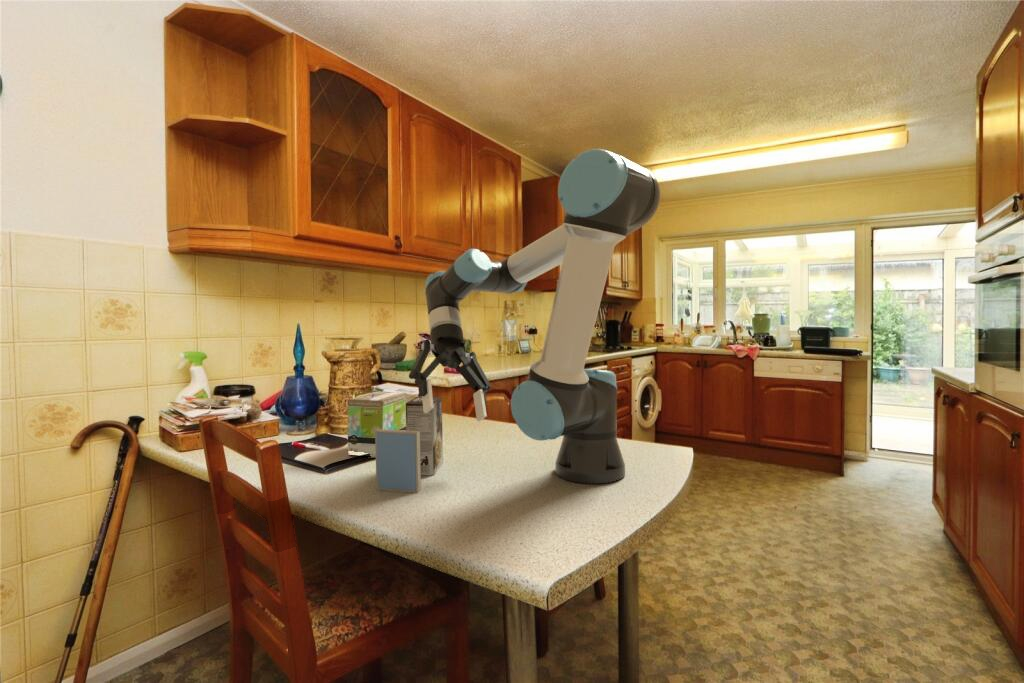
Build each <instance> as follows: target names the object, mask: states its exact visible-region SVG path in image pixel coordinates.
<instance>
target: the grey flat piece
mask: <svg viewBox="0 0 1024 683" xmlns="http://www.w3.org/2000/svg"><path fill="white" fill-rule="evenodd" d="M375 448H376V457H375V486H376V487H375V488H376V491H387V492H388V491H389V492H403V493H416V494H417V493H418V494H419V492H421V490H422V486H421V484H422V482H421V480H422V477H421V476H422V475H421V469H420V431H410V430H385V429H378V430H376V431H375Z"/></svg>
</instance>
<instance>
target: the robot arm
mask: <svg viewBox="0 0 1024 683" xmlns="http://www.w3.org/2000/svg"><path fill="white" fill-rule="evenodd" d="M658 182H659V181H658V180H657V178H656V177H655V175H654V174H653V173H652V172H651V171H650V170H649V169H647V168H646V167H645V166H643V165H640V164H637V163H635V162H633V161H631V160H629V159H627V158H625V157H624V156H622V155H621V154H620V153H617V152H614V151H609V150H606V149H603V148H592V149H588V150H585V151H582V152H581V153H579V154H578V155H577V156H576V157H575V158H573V159H572V160H571V161H570V162H569V163H568V164H567V166H565V168H564V170H563V172H562V173H561V176H560V179H559V181H558V187H557V189H558V190H557V195H558V196H557V197H558V199H559V201H560V205H561V207H562V208H563V210H564V211H565V212H564V213H565V214H564V218H563V223H562V224H561V225H559V226H558V227H556V228H555V229H553V230H552V231H550V232H548V233H546V234H545V235H543V236H541V237H540V238H538V239H537V240H534V241H533V242H531V243H529V244H528V245H526V246H525V247H523V248H522V249H520V250H518V251H517V252H515V253H513V254H511V255H510V256H508V257H506V258H504V259H503V260H501V261H498V260H497V261H496V260H491V259H490V258H489V256H488V255H486V253H485V252H483V251H481V250H480V249H478V248H469V249H467V250H465V252H463V254H461V255H459V257H457V258H456V259H455V261H454V262H453V263H452V264H451V265H450V266H449V267H448V268H447V270H439V271H438V270H437V271H436V272H434V273H430V274H428V276H427V278H426V280H425V292H424V294H425V298H426V307H427V315H428V326H429V331H430V332H429V337H430V340H429V339H425V340H424V341H423V342H422V343H421V344H420V345H419V353H418V355H417V357H416V359H415V362H414V363H413V365H412V367H411V370H410V372H409V373H408V378H409V379H410V380H414V384H415V385H417V388H418V395H419V397H422V401H423V413H428V412H429V411H430V410H432V409H433V408H434V405H433V397H434V396H433V387H432V386H433V385H432V379H431V378H429V376H430V375H431V374H432V373H433V371H435V369H436V368H437V367H438V366H439V365H441V367H444V368H445V367H448V368H450V369H454V370H455V371H456V373H459V374H460V375H461V376H462V377H463V379H464V380H465V381H466V382H467V384H468V385H469V386H470V387H471V389H472V390H473V392H474V393H473V394H472V397H473V403H474V410H475V418H476V421H477V422H480V421H482V420H484V419H485V418H488V415H487V409H486V405H487V397H486V393H488V391H490V390H491V389H492V385H491V383H490V381H489V379H488V377H487V376H486V374H485V372H484V370H483V368H482V366H481V364H480V363H479V361H478V358H477V355H476V354H477V353H476V352H475V351H471V352H466V351H465V350H464V345H465V343H464V342H465V341H464V340H465V339H464V333H463V332H464V331H463V325H462V324H463V323H462V318H461V311H460V302H462V301H463V300H464V299H465V298H466V297H467V296H468V295H469V294H470V293H472V292H485V293H486V292H487V293H488V292H489V293H502V294H507V295H508V294H509V295H511V294H517V293H520V292H522V291H523V290H524V289H525V287H526V286H527V284H528V282H530V281H532V280H533V279H535V278H538V277H539V276H541V275H543V274H545V273H547V272H548V271H550V270H552V269H555V268H556V267H558V266H560V265H561V268H560V272H559V276H558V279H557V280H558V281H557V284H556V285H557V286H556V290H555V294H554V299H553V303H552V307H551V312H550V316H549V320H548V324H547V328H546V333H545V336H544V337H545V338H544V342H543V347H542V350H541V355H540V357H539V359H537V360H536V361H534V362H532V363H531V364H530V367H529V372H528V375H527V380H524V381H521V383H520V384H519V385H517V386H516V387H515V388H514V390H513V392H512V395H511V398H510V399H511V400H510V409H511V413H512V417H513V419H514V420H515V422H516V426H517V427H518V428H519V429H520V431H521V432H522V433H523V435H525V436H526V437H529V438H530V439H531V440H535V441H541V442H542V441H543V442H544V441H550V440H552V441H553V440H556V439H558V438H560V437H562V439H561V443H560V447H559V451H558V452H557V453H558V454H557V456H556V459H555V474H556V475H557V477H559V478H561V479H562V480H563V479H564V480H566V481H570V482H574V483H580V484H595V485H596V484H598V485H599V484H608V482H609V483H614V482H617V481H616V480H618V481H620V480H621V478H622V479H623V478H624V477H625V475H626V464H625V461H624V458H623V455H622V451H621V448H620V446H619V442H618V436H617V435H618V434H617V433H618V432H617V431H618V427H617V424H618V422H617V421H618V404H617V403H618V385H617V376H616V374H615V372H613V371H612V370H604V369H603V370H602V369H592V368H591V369H589V368H585V366H586V364H585V363H586V361H587V357H588V352H589V349H590V344H591V342H592V337H593V333H594V329H595V325H596V321H597V318H598V313H599V309H600V306H601V302H602V297H603V293H604V289H605V286H606V282H607V279H608V275H609V274H608V273H609V271H610V266H611V263H612V258H613V254H614V250H615V247H616V246H617V245H618V244H619V243H620V242H622V241H623V240H625V239H626V238H627V236H628V235H629V234H632V233H633V232H635V231H637V230H639V229H640V228H642V227H643V226H644V225H646V224H647V223H649V221H650V220H652V218H653V217H654V216H655V214H656V212H657V210H658V207H659V205H660V202H661V201H660V200H661V190H660V184H659V183H658ZM430 352H431V353H432V354H433V356H434V357H435V358H434V359H433V360H432V361H431V362H430V364H429V365H428V366H426V367H427V368H425V369H424V371H422V369H423V366H424V364H425V361H426V360H427V358H428V355H429V354H430ZM461 364H462V365H461ZM421 371H422V372H421ZM619 479H620V480H619ZM613 481H614V482H613Z"/></svg>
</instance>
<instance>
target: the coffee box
mask: <svg viewBox="0 0 1024 683" xmlns="http://www.w3.org/2000/svg"><path fill="white" fill-rule="evenodd" d="M442 402H443V400H442V396H441V397H440V396H437V397H436V396H435V397H434V396H433V405H434V408H433V409H432V410H430V411H429V412H428V413H423V401H422V396H416V397H414V398H412V399H410V400H409V401H407V403H406V430H410V431H420V469H421V476H435V475H436V473H437V472H438V470H440V468H441V467H442V466H443V463H444V447H443V446H444V445H443V438H444V437H443V405H442V404H443V403H442Z"/></svg>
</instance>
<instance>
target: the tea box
mask: <svg viewBox="0 0 1024 683" xmlns="http://www.w3.org/2000/svg"><path fill="white" fill-rule="evenodd" d="M407 395H408V393H407V392H400V391H399V392H398V391H397V392H395V391H374V392H369V393H366V394H362V395H359V396H354V397H350V398H348V399H347V452H348V451H354V452H364V453H368V454H370V456H371V457H370V458H376V448H375V431H376V430H378V429H385V430H406V403H407V402H408V396H407Z"/></svg>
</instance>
